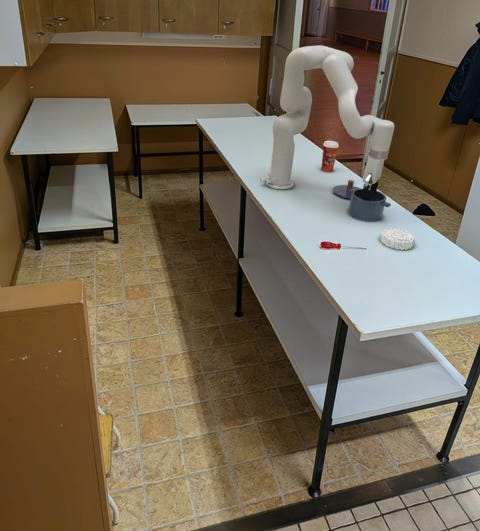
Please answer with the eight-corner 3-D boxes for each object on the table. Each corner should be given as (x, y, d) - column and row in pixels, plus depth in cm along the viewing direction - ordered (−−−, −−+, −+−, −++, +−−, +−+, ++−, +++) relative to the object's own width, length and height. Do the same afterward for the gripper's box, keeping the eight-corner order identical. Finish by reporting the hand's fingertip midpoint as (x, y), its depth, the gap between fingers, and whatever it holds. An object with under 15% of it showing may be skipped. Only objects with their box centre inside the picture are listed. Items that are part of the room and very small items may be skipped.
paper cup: (325, 173, 244) (329, 145, 237) (316, 168, 250) (320, 140, 242) (338, 171, 247) (342, 144, 240) (328, 166, 253) (333, 139, 246)
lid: (353, 203, 214) (355, 190, 211) (325, 192, 223) (327, 179, 220) (371, 195, 224) (374, 182, 221) (344, 184, 232) (346, 172, 229)
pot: (375, 226, 195) (380, 207, 191) (336, 210, 206) (340, 191, 202) (393, 217, 204) (398, 198, 200) (355, 202, 215) (358, 184, 211)
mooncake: (408, 253, 178) (410, 244, 176) (375, 243, 183) (377, 234, 181) (416, 241, 187) (419, 232, 185) (385, 231, 192) (387, 223, 190)
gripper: (375, 145, 200) (366, 185, 209) (361, 156, 187) (353, 198, 196) (393, 150, 197) (384, 190, 206) (381, 161, 184) (371, 203, 193)
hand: (368, 194), depth 201 cm, fingers open, 9 cm apart
